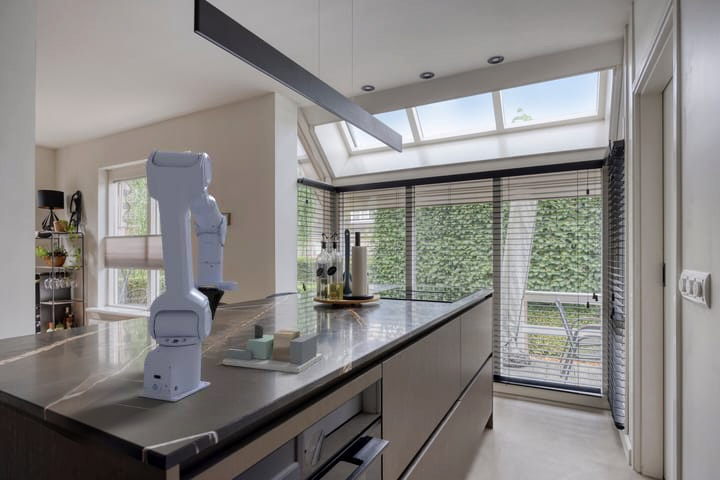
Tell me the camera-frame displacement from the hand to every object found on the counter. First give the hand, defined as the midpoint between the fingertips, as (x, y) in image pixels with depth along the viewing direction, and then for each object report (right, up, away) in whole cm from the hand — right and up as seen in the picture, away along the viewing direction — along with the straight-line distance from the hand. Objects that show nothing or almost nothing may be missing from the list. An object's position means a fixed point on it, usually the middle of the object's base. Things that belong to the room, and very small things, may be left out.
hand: (208, 320), depth 95 cm
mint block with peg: (+13, -8, 0) cm, 16 cm away
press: (+16, -10, -1) cm, 18 cm away
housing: (+19, -8, -2) cm, 21 cm away
